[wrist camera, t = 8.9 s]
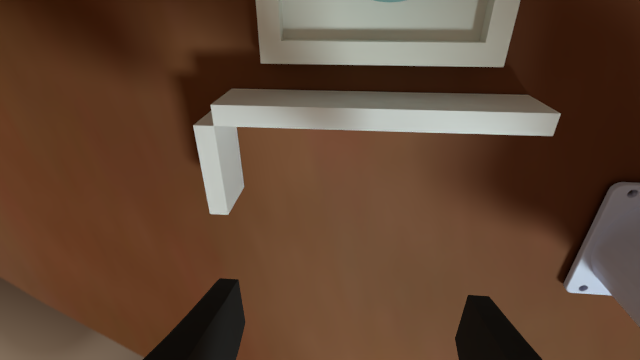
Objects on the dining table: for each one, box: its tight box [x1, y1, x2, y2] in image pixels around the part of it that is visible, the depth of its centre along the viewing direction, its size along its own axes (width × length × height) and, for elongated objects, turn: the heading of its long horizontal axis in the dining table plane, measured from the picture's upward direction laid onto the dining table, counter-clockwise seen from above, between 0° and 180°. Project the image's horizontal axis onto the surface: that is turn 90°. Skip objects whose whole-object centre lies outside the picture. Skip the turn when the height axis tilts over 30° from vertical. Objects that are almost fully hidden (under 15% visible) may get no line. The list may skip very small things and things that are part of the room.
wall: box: [193, 89, 561, 215], centre depth 17 cm, size 16×6×3 cm, turn 90°
